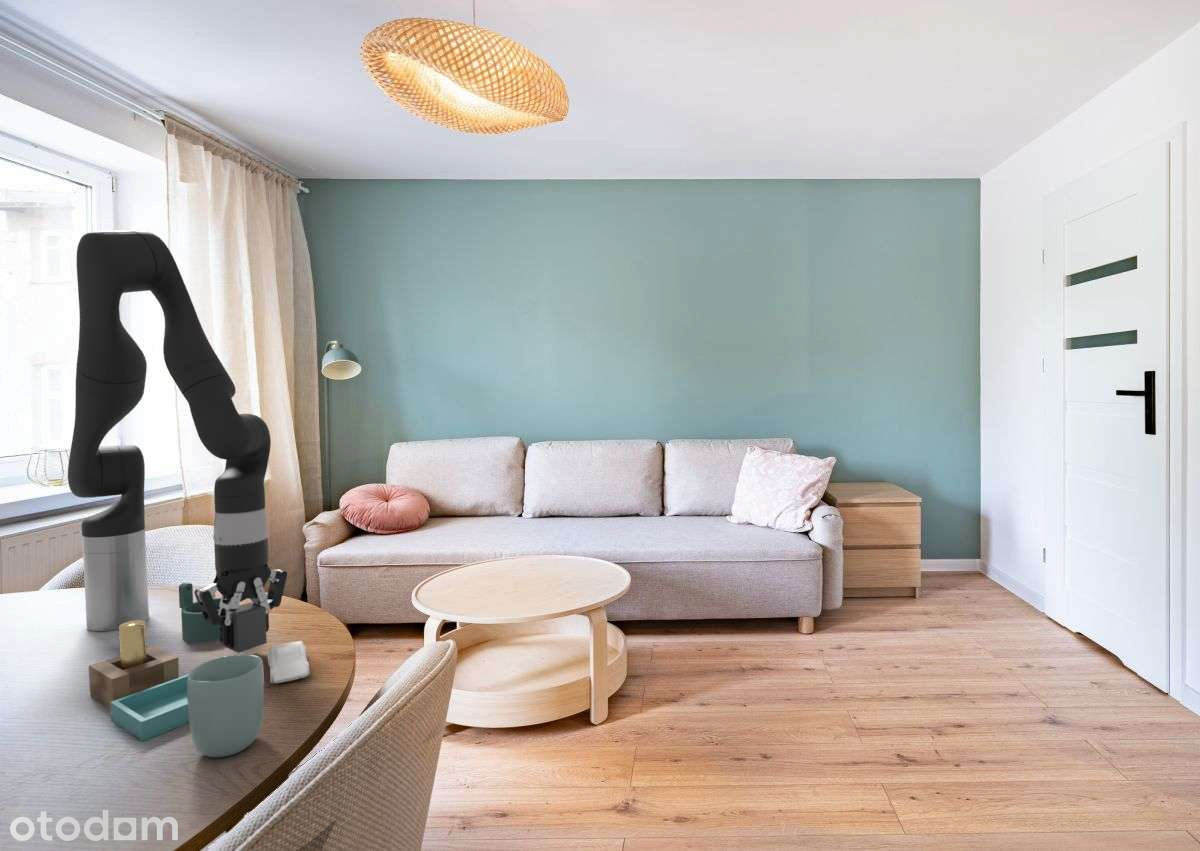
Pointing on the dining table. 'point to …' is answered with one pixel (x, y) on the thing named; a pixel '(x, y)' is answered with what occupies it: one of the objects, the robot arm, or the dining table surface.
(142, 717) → the tray
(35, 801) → the dining table surface
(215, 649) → the dining table surface
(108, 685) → the socket
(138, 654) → the pin
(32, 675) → the dining table surface
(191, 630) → the bracket
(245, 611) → the dark grey block
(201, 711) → the cup
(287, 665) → the toy car
